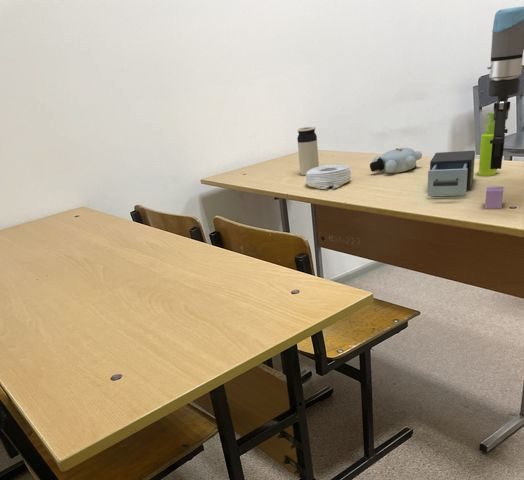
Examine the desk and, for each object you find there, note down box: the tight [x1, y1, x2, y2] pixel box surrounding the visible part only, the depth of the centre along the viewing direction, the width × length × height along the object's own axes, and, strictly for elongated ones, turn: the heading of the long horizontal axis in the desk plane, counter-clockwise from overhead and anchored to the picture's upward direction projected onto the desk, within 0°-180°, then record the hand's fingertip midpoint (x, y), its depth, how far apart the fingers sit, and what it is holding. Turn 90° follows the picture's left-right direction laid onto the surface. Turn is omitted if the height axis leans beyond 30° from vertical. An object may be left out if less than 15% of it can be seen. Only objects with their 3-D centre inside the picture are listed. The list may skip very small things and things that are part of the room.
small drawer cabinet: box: [429, 150, 476, 192], centre depth 176 cm, size 15×13×10 cm
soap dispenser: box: [478, 111, 498, 177], centre depth 181 cm, size 6×7×20 cm
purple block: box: [484, 186, 505, 210], centre depth 152 cm, size 4×4×5 cm
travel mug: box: [296, 126, 320, 176], centre depth 221 cm, size 8×8×18 cm
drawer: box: [427, 162, 468, 197], centre depth 167 cm, size 18×11×8 cm, turn 158°
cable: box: [304, 164, 352, 191], centre depth 202 cm, size 18×18×6 cm
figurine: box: [369, 147, 423, 174], centre depth 208 cm, size 17×8×20 cm
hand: (496, 163), depth 147 cm, fingers open, 13 cm apart
